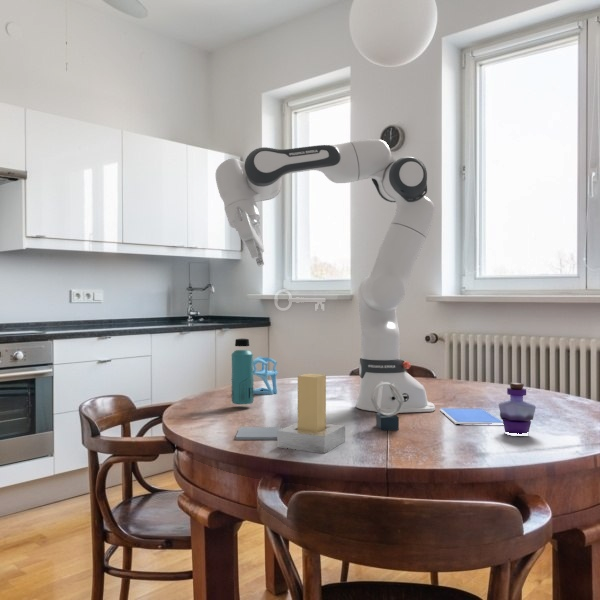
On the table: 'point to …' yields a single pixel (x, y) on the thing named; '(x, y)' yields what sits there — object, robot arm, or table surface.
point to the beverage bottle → (242, 374)
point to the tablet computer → (470, 416)
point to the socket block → (311, 438)
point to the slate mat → (257, 433)
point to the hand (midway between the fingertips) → (258, 261)
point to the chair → (265, 375)
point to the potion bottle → (516, 410)
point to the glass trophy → (388, 419)
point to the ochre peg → (312, 402)
